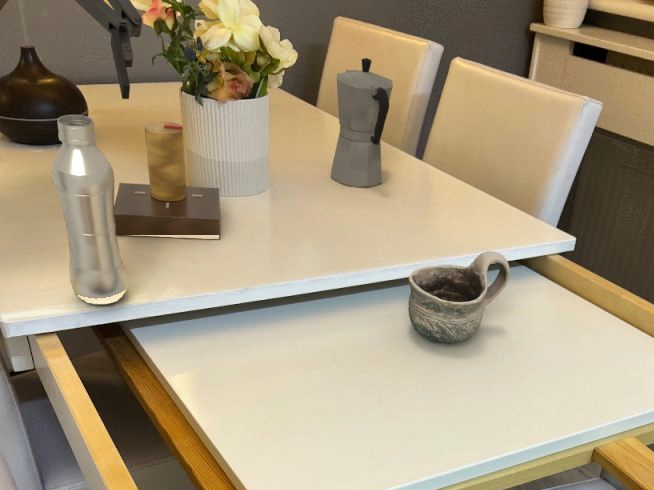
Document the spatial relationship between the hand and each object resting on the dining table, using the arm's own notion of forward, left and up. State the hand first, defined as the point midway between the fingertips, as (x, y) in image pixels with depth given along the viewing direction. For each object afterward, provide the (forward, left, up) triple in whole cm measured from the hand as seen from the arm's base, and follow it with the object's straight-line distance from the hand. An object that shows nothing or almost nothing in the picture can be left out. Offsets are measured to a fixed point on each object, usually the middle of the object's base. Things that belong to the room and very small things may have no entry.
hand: (63, 93), depth 87 cm
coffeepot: (+40, +33, -20) cm, 55 cm away
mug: (+45, -16, -20) cm, 51 cm away
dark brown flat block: (+10, +13, -20) cm, 25 cm away
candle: (+10, +15, -17) cm, 24 cm away
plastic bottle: (+3, -10, -20) cm, 22 cm away
